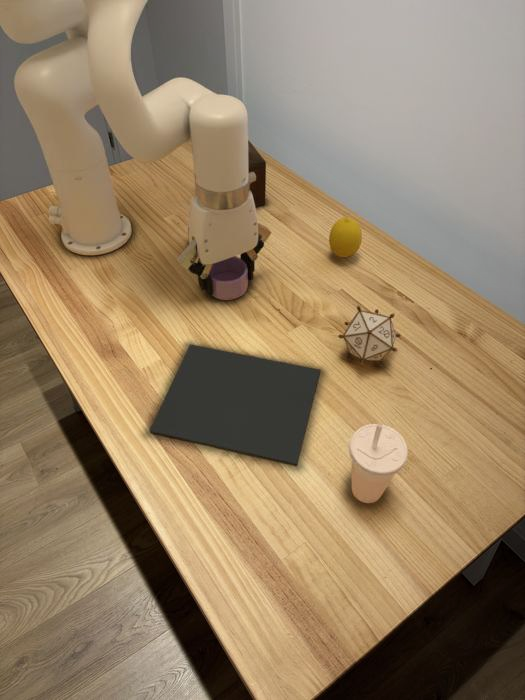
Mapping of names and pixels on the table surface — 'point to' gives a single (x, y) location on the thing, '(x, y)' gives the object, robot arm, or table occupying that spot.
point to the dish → (229, 278)
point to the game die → (370, 336)
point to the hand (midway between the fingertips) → (227, 282)
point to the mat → (239, 404)
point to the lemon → (345, 237)
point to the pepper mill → (257, 175)
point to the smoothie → (375, 460)
